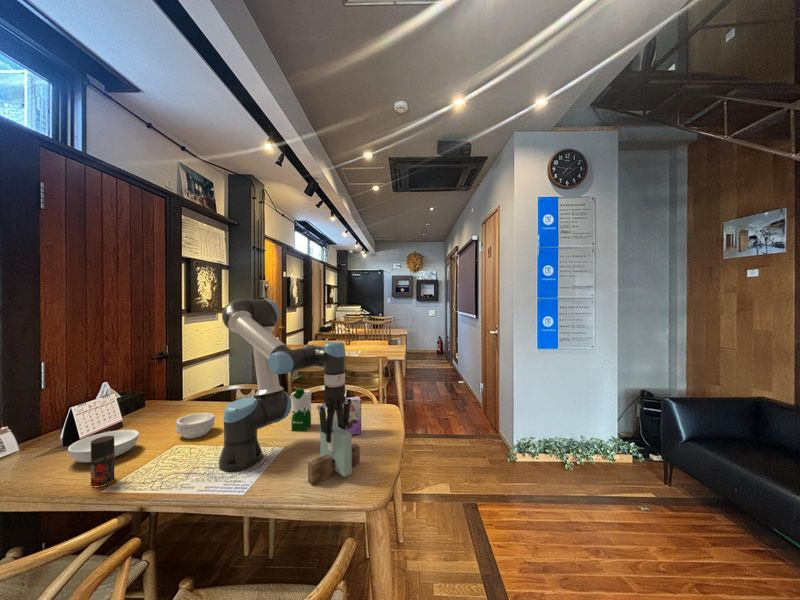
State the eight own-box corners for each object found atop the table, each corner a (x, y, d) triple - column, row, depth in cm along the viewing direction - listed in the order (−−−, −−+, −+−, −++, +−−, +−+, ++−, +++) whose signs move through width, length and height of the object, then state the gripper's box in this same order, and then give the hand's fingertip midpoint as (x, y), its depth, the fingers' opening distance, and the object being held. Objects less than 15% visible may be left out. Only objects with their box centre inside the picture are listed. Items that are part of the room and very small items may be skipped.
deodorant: (119, 477, 111) (119, 435, 111) (103, 487, 105) (103, 443, 105) (102, 477, 111) (101, 435, 111) (85, 487, 105) (85, 443, 105)
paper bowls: (221, 431, 150) (221, 415, 150) (187, 444, 136) (187, 426, 136) (202, 425, 157) (202, 410, 157) (169, 437, 143) (169, 420, 143)
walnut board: (312, 485, 105) (312, 465, 105) (308, 482, 107) (308, 461, 107) (359, 463, 119) (359, 445, 119) (355, 461, 121) (355, 443, 121)
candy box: (331, 438, 142) (331, 402, 142) (331, 432, 147) (330, 398, 148) (361, 434, 145) (361, 399, 146) (359, 429, 151) (359, 395, 151)
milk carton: (289, 431, 149) (288, 390, 149) (297, 424, 158) (296, 385, 158) (306, 432, 148) (306, 390, 148) (313, 424, 157) (313, 385, 157)
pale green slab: (344, 476, 106) (344, 436, 106) (320, 460, 118) (320, 423, 118) (351, 473, 108) (351, 433, 109) (327, 457, 120) (327, 421, 120)
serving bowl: (147, 451, 130) (147, 435, 130) (78, 476, 112) (77, 457, 112) (127, 440, 141) (127, 425, 141) (60, 461, 122) (60, 443, 123)
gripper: (320, 391, 105) (320, 460, 105) (358, 382, 116) (359, 444, 116) (309, 386, 110) (310, 452, 110) (347, 378, 122) (347, 438, 122)
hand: (335, 448), depth 113 cm, fingers closed on pale green slab, 3 cm apart
